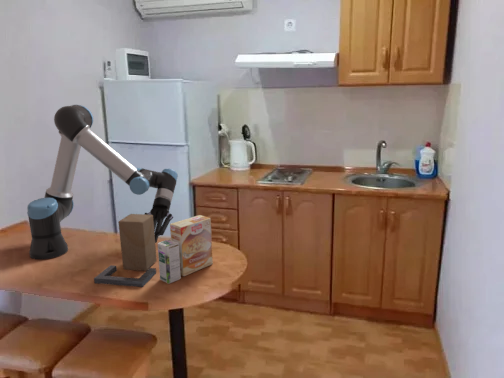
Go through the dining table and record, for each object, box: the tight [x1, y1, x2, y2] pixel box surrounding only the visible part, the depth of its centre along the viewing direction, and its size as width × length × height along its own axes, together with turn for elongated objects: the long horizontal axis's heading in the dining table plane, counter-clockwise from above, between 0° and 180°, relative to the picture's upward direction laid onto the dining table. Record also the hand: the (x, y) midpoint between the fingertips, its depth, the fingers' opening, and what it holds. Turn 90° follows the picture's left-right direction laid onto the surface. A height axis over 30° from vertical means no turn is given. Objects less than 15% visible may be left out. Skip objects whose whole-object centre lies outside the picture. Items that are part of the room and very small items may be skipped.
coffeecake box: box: [169, 214, 213, 277], centre depth 162 cm, size 15×7×20 cm, turn 137°
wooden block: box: [118, 213, 158, 272], centre depth 166 cm, size 10×10×20 cm
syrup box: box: [157, 238, 182, 285], centre depth 153 cm, size 6×6×14 cm
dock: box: [93, 264, 157, 288], centre depth 157 cm, size 19×12×2 cm, turn 78°
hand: (149, 249), depth 176 cm, fingers closed
